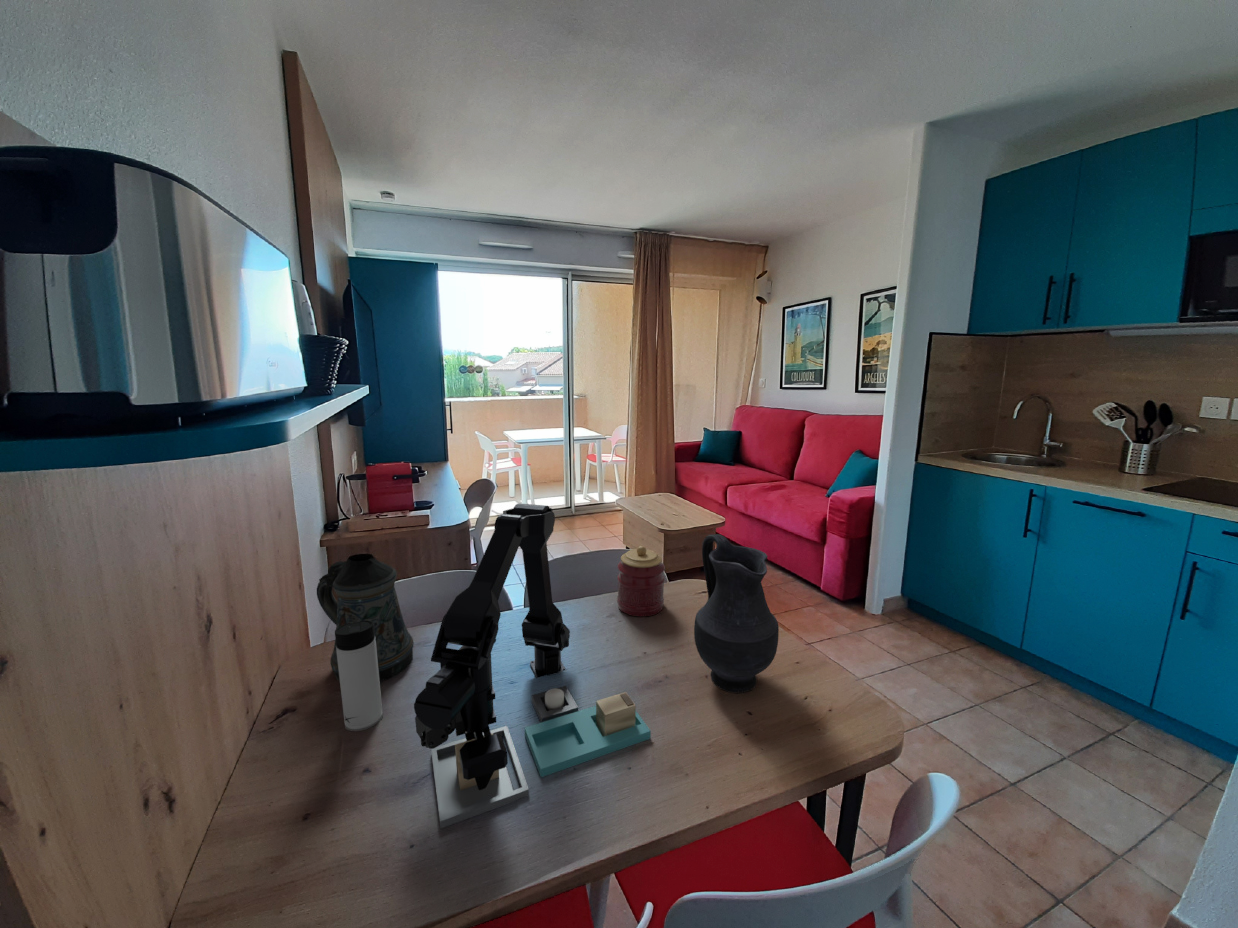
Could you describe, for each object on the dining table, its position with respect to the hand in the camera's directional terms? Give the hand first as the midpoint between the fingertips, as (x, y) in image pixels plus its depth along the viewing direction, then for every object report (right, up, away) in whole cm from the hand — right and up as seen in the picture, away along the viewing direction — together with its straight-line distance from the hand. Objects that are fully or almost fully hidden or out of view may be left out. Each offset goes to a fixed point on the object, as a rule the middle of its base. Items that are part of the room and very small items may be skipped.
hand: (477, 769), depth 78 cm
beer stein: (-33, +4, +30) cm, 45 cm away
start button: (+10, +3, +15) cm, 19 cm away
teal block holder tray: (+17, 0, +8) cm, 19 cm away
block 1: (0, -1, 0) cm, 1 cm away
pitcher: (+46, +3, +28) cm, 54 cm away
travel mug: (-25, +1, +12) cm, 27 cm away
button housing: (+10, +1, +16) cm, 19 cm away
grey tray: (0, -2, 0) cm, 2 cm away
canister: (+29, +9, +58) cm, 65 cm away
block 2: (+22, +1, +10) cm, 25 cm away
